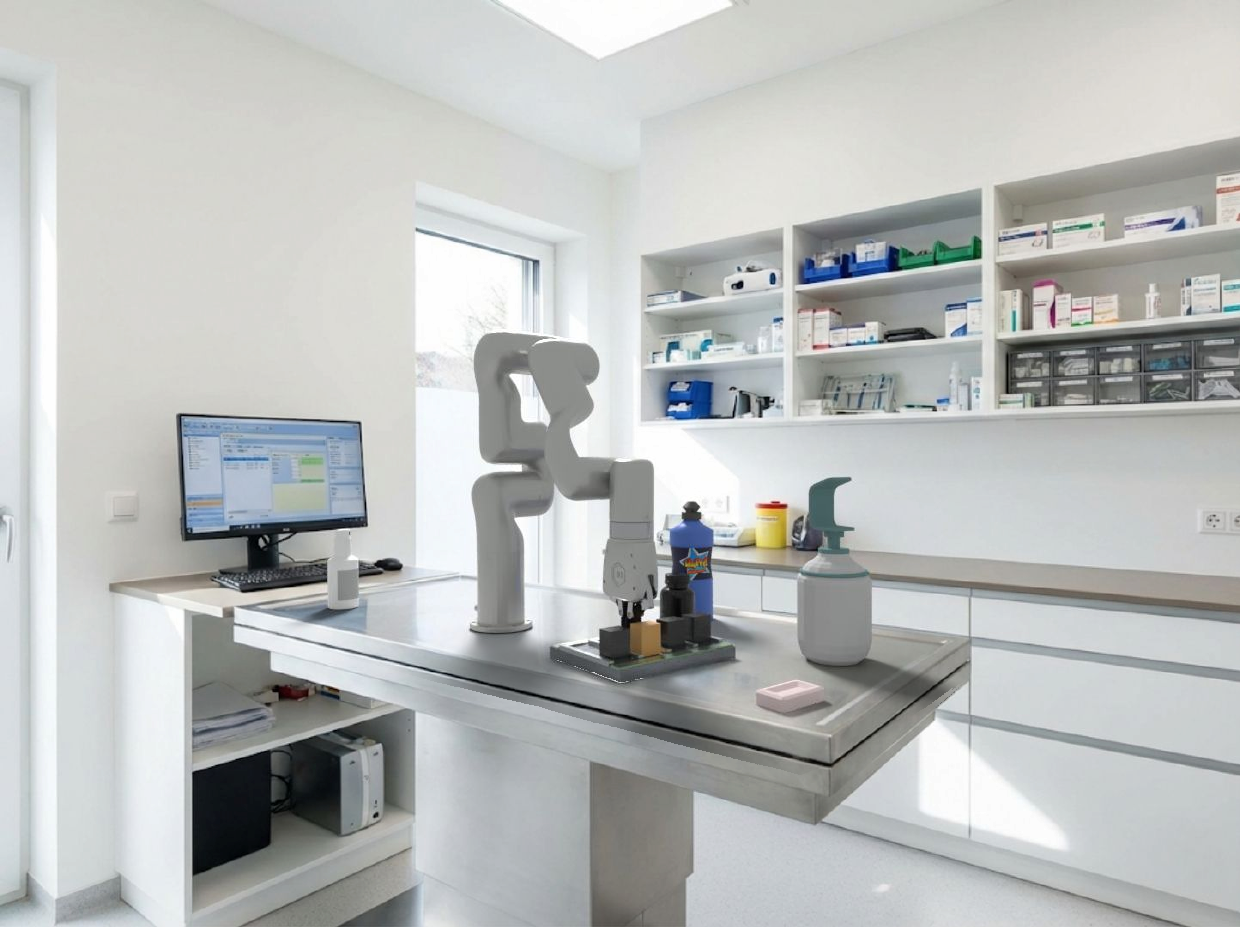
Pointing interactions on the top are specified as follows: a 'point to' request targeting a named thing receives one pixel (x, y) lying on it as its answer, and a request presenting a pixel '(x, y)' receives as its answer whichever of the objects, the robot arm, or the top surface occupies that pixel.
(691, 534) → the water bottle
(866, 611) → the soap bottle
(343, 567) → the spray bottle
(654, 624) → the handle
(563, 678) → the top surface
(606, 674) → the breaker panel
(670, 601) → the supplement bottle
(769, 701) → the soap bar
